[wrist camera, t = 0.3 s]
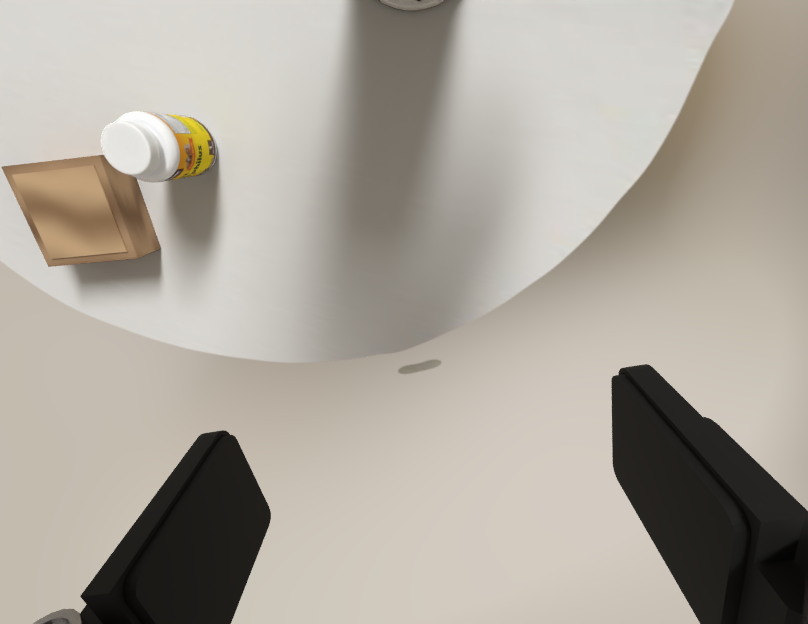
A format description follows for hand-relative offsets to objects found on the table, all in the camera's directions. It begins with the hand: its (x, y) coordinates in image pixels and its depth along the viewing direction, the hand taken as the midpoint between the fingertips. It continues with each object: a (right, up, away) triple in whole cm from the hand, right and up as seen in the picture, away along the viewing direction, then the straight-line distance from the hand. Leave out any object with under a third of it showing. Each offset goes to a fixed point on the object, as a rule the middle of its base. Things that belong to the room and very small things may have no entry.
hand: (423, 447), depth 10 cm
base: (-33, +15, +34) cm, 50 cm away
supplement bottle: (-22, +20, +31) cm, 43 cm away
